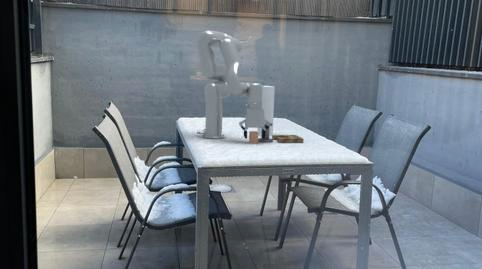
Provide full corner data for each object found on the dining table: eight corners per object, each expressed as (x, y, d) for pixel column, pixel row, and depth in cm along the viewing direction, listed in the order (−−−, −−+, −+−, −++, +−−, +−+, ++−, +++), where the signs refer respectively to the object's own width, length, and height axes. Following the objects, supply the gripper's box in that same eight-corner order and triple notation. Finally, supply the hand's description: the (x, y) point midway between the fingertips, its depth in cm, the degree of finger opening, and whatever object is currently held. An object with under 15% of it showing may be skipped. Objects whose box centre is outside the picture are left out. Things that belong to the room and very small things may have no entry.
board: (279, 143, 249) (279, 138, 249) (271, 139, 263) (272, 134, 262) (303, 142, 252) (303, 138, 252) (295, 139, 266) (295, 134, 265)
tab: (250, 143, 245) (251, 132, 244) (249, 142, 249) (249, 131, 248) (257, 143, 246) (258, 132, 245) (256, 142, 250) (256, 131, 249)
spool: (259, 142, 249) (259, 124, 248) (255, 139, 258) (255, 122, 257) (275, 142, 251) (275, 124, 250) (270, 139, 260) (271, 122, 258)
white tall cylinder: (273, 136, 273) (275, 86, 269) (257, 136, 273) (259, 85, 269) (272, 134, 282) (274, 85, 278) (257, 133, 282) (258, 85, 278)
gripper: (240, 106, 239) (240, 139, 241) (272, 106, 243) (271, 138, 245) (237, 105, 246) (237, 137, 249) (268, 105, 250) (268, 136, 252)
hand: (254, 137), depth 247 cm, fingers open, 9 cm apart
